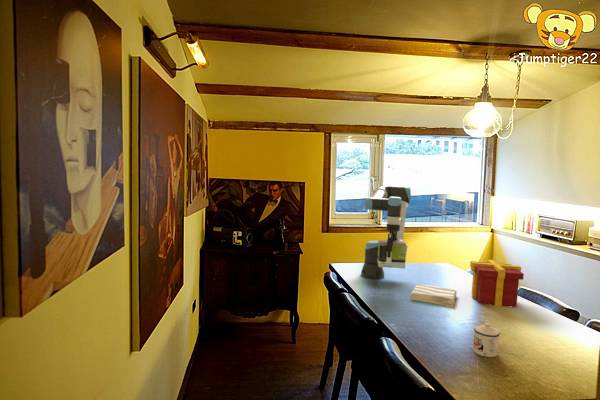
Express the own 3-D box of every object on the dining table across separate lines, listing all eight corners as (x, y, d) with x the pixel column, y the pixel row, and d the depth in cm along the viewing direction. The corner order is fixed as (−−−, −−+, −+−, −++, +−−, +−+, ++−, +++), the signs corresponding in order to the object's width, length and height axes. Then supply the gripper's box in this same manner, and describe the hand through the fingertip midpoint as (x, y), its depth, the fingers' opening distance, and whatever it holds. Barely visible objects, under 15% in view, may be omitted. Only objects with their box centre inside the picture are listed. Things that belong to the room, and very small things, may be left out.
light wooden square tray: (416, 290, 238) (416, 283, 238) (456, 296, 229) (456, 289, 229) (410, 299, 220) (411, 292, 220) (453, 306, 211) (454, 299, 211)
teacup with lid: (468, 347, 162) (470, 319, 161) (489, 347, 163) (491, 319, 162) (484, 361, 150) (486, 331, 149) (507, 361, 151) (510, 331, 150)
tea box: (402, 265, 238) (404, 240, 237) (405, 269, 228) (406, 243, 227) (377, 263, 240) (378, 238, 239) (378, 267, 230) (379, 241, 229)
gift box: (464, 291, 240) (467, 257, 239) (510, 295, 235) (513, 261, 234) (474, 304, 216) (477, 267, 214) (524, 310, 211) (528, 272, 209)
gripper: (395, 226, 220) (393, 266, 221) (403, 221, 241) (401, 257, 243) (382, 225, 223) (379, 264, 225) (391, 220, 244) (389, 256, 246)
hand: (391, 260), depth 234 cm, fingers closed on tea box, 11 cm apart
